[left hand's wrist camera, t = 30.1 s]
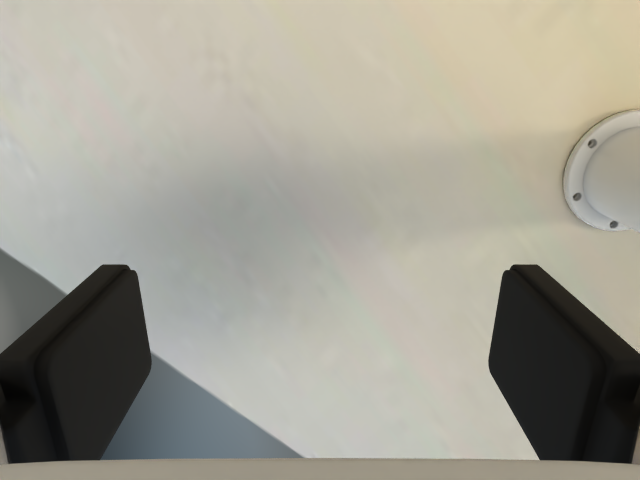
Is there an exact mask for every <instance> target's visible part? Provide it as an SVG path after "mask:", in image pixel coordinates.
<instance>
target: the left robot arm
mask: <svg viewBox="0 0 640 480" xmlns="http://www.w3.org/2000/svg"><path fill="white" fill-rule="evenodd" d="M588 142H589V144H588ZM563 188H564V194H565V198H566V201H567V203H568V205H569V207H570V209H571V210H572V212H573V213H574V214H575V215H576V216H577V217H578V218H579V219H581V220H582V221H583V222H585V223H587V224H589V225H591V226H592V227H595V228H598V229H601V230H606V231H624V230H629V229H632V230H634V231H636V232H638V233H640V109H639V110H628V111H625V112H621V113H617V114H615V115H613V116H610V117H608V118H606V119H604V120H603V121H601V122H600V123H598V124H597V125H595V126H594V127H593V128H591V129H590V130H589V131H588V132H587V133H586V134H585V135H584V136H583V137H582V138H581V140H580V141H579V142H578V143H577V145H576V146H575V148H574V150H573V151H572V153H571V155H570V157H569V159H568V162H567V165H566V167H565V172H564V178H563ZM574 194H575V195H574ZM488 362H489V370H490V373H491V375H492V377H493V378H494V380H495V382H496V384H497V385H498V387H499V389H500V391H501V392H502V394H503V396H504V398H505V399H506V401H507V403H508V405H509V406H510V408H511V410H512V412H513V413H514V415H515V417H516V419H517V420H518V422H519V424H520V426H521V427H522V429H523V431H524V433H525V434H526V436H527V438H528V440H529V441H530V443H531V445H532V447H533V449H534V450H535V452H536V454H537V456H538V457H539V459H540V460H497V459H371V458H273V459H272V458H271V459H270V458H269V459H144V460H100V459H101V457H102V456H103V454H104V452H105V450H106V448H107V447H108V445H109V443H110V441H111V440H112V438H113V436H114V434H115V433H116V431H117V429H118V427H119V426H120V424H121V422H122V420H123V419H124V417H125V415H126V413H127V412H128V410H129V408H130V406H131V405H132V403H133V401H134V399H135V398H136V396H137V394H138V392H139V391H140V389H141V387H142V385H143V384H144V382H145V380H146V378H147V377H148V375H149V373H150V370H151V353H150V347H149V341H148V335H147V329H146V323H145V317H144V311H143V305H142V299H141V293H140V287H139V281H138V276H137V273H136V271H135V270H130V268H129V266H127V265H102V266H100V267H99V268H98V269H97V270H96V271H94V272H93V273H92V274H91V275H90V276H89V277H88V278H87V279H85V280H84V281H83V282H82V283H81V284H80V285H79V286H77V287H76V288H75V289H74V290H73V291H72V292H71V293H69V294H68V295H67V296H66V297H65V298H64V299H63V300H61V301H60V302H59V303H58V304H57V305H56V306H55V307H53V308H52V309H51V310H50V311H49V312H48V313H47V314H45V315H44V316H43V317H42V318H41V319H40V320H39V321H37V322H36V323H35V324H34V325H33V326H32V327H31V328H29V329H28V330H27V331H26V332H25V333H24V334H23V335H21V336H20V337H19V338H18V339H17V340H16V341H15V342H13V343H12V344H11V345H10V346H9V347H8V348H7V349H6V350H4V351H3V352H2V353H1V354H0V480H640V354H639V353H638V352H637V351H636V350H635V349H633V348H632V347H631V346H630V345H629V344H628V343H627V342H625V341H624V340H623V339H622V338H621V337H620V336H619V335H617V334H616V333H615V332H614V331H613V330H612V329H611V328H609V327H608V326H607V325H606V324H605V323H604V322H603V321H601V320H600V319H599V318H598V317H597V316H596V315H595V314H593V313H592V312H591V311H590V310H589V309H588V308H587V307H585V306H584V305H583V304H582V303H581V302H580V301H579V300H577V299H576V298H575V297H574V296H573V295H572V294H571V293H569V292H568V291H567V290H566V289H565V288H564V287H563V286H561V285H560V284H559V283H558V282H557V281H556V280H555V279H553V278H552V277H551V276H550V275H549V274H548V273H547V272H546V271H544V270H543V269H542V268H541V267H540V266H538V265H513V266H511V268H510V270H505V271H504V273H503V276H502V281H501V287H500V293H499V299H498V305H497V311H496V317H495V323H494V329H493V335H492V341H491V347H490V353H489V361H488Z"/></svg>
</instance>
